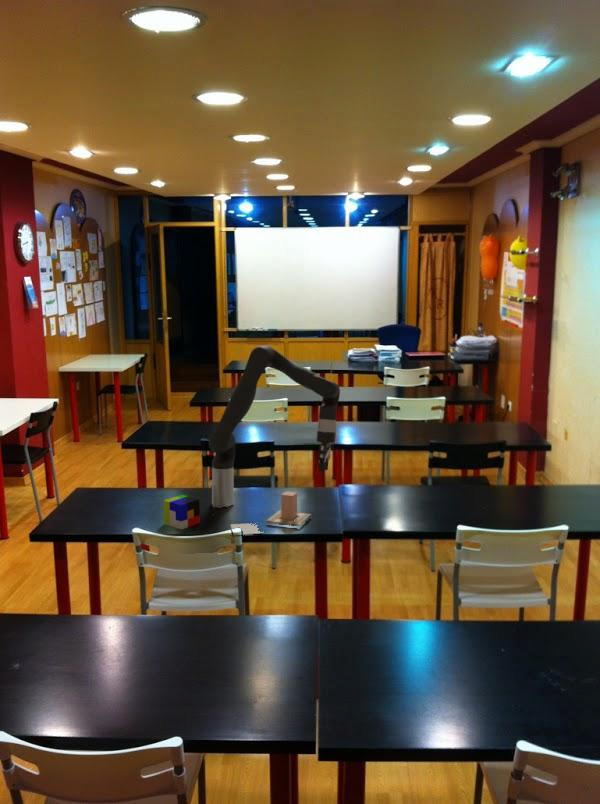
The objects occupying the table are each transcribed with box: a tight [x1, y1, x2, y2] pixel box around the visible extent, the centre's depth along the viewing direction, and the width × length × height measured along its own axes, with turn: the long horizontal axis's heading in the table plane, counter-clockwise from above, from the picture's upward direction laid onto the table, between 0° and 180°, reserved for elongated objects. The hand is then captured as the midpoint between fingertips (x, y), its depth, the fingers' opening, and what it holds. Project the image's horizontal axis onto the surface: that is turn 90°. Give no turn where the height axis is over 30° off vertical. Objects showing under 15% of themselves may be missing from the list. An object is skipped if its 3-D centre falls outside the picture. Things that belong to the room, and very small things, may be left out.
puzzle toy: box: [163, 494, 201, 530], centre depth 286 cm, size 10×10×10 cm
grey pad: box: [229, 522, 264, 537], centre depth 280 cm, size 12×12×1 cm
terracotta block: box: [280, 490, 298, 521], centre depth 289 cm, size 5×5×12 cm
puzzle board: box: [266, 509, 312, 526], centre depth 289 cm, size 14×14×2 cm
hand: (323, 470), depth 286 cm, fingers open, 8 cm apart
